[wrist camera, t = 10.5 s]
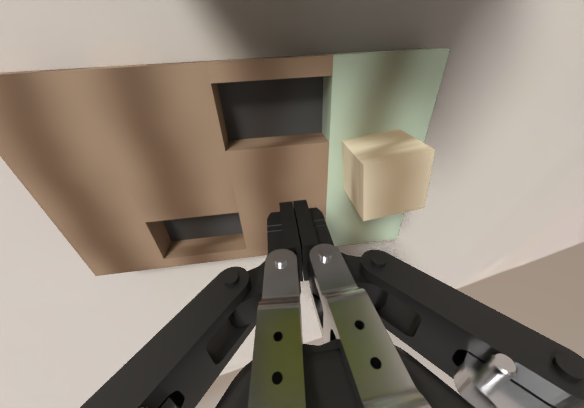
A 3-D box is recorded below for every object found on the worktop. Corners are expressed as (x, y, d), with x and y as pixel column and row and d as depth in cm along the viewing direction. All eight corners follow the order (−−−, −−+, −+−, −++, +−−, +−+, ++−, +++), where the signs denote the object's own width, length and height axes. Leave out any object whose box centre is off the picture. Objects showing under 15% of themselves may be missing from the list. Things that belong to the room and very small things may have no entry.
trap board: (425, 48, 16) (450, 48, 14) (384, 222, 24) (396, 238, 22) (-14, 73, 14) (-62, 78, 12) (110, 254, 22) (95, 275, 20)
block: (398, 128, 16) (435, 149, 13) (394, 178, 18) (424, 207, 15) (341, 140, 16) (363, 165, 13) (344, 189, 18) (363, 221, 15)
